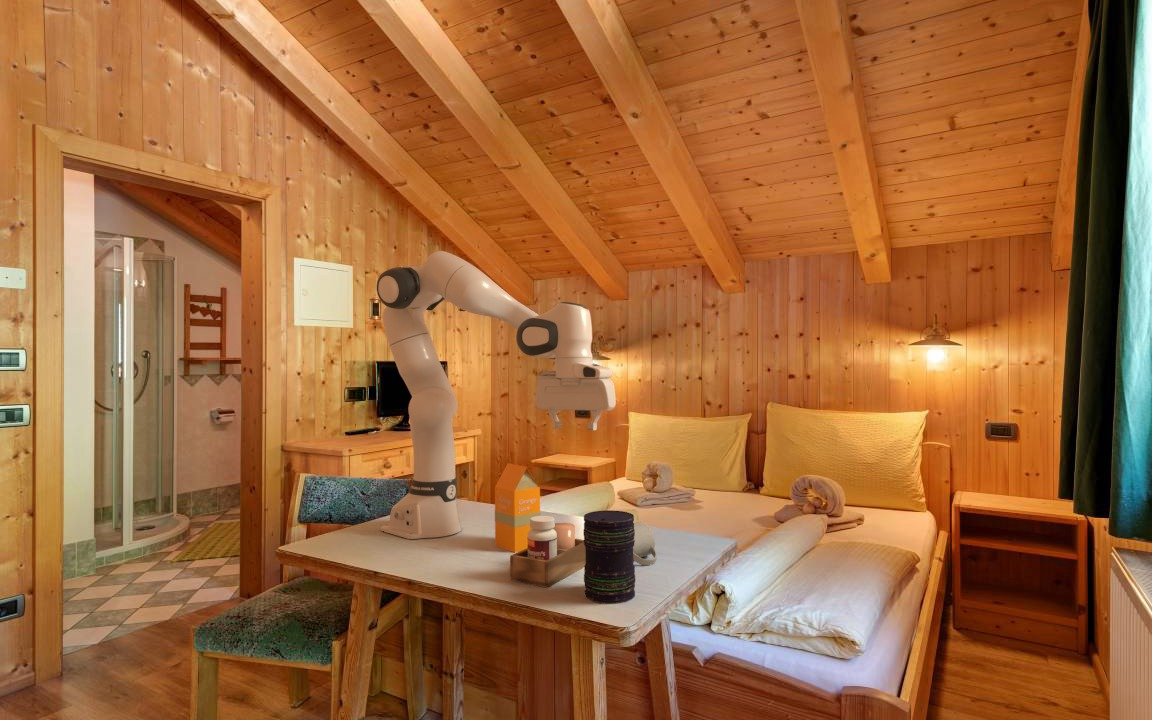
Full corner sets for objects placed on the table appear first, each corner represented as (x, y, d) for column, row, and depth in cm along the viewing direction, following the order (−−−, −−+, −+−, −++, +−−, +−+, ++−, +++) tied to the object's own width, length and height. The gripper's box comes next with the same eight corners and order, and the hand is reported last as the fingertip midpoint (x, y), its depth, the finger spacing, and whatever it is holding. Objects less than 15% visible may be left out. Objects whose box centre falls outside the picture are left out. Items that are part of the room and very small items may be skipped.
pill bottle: (522, 575, 128) (521, 520, 128) (536, 566, 134) (535, 514, 134) (549, 579, 126) (548, 523, 126) (562, 570, 131) (561, 516, 131)
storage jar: (595, 583, 125) (594, 508, 126) (641, 589, 122) (640, 512, 122) (576, 599, 116) (575, 519, 116) (626, 607, 112) (625, 524, 113)
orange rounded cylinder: (544, 564, 136) (544, 527, 136) (558, 557, 140) (557, 521, 141) (566, 567, 133) (566, 530, 133) (579, 560, 138) (579, 524, 138)
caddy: (510, 580, 128) (510, 555, 128) (555, 557, 143) (555, 535, 143) (548, 587, 123) (547, 562, 123) (590, 563, 138) (590, 540, 138)
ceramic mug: (606, 558, 142) (606, 524, 142) (632, 551, 147) (632, 518, 147) (639, 570, 134) (639, 534, 134) (665, 562, 139) (665, 527, 139)
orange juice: (514, 552, 147) (513, 468, 147) (494, 545, 154) (493, 464, 154) (541, 546, 152) (540, 464, 152) (520, 539, 159) (520, 461, 159)
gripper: (530, 371, 149) (530, 428, 149) (605, 370, 139) (606, 432, 139) (544, 371, 154) (544, 426, 154) (618, 370, 144) (619, 429, 144)
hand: (574, 429), depth 146 cm, fingers open, 8 cm apart
